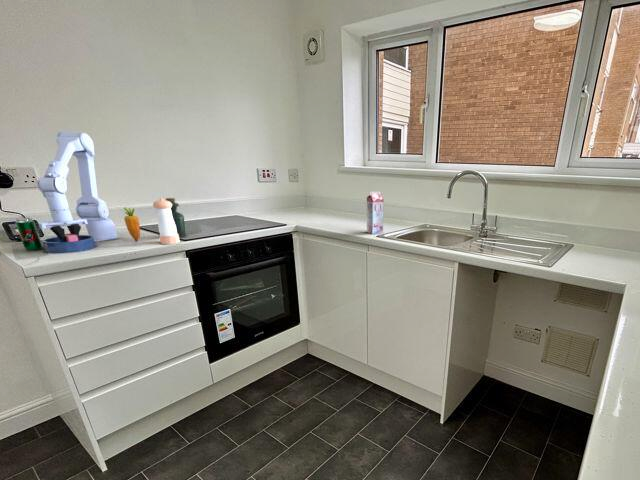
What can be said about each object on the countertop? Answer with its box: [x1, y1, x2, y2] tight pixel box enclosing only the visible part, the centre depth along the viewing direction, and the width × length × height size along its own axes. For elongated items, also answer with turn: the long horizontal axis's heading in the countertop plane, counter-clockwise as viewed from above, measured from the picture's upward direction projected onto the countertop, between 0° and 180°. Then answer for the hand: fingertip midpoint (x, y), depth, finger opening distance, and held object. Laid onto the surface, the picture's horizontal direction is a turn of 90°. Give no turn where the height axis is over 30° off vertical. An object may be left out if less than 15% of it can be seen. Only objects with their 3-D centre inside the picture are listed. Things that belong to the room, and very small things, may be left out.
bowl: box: [41, 234, 97, 254], centre depth 141 cm, size 15×15×4 cm
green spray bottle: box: [165, 197, 187, 239], centre depth 166 cm, size 8×8×18 cm
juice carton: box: [366, 191, 384, 235], centre depth 193 cm, size 7×7×22 cm
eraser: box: [65, 233, 79, 242], centre depth 141 cm, size 3×6×5 cm, turn 66°
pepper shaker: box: [152, 197, 181, 245], centre depth 154 cm, size 7×7×19 cm
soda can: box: [15, 217, 44, 252], centre depth 136 cm, size 5×5×12 cm
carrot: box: [123, 206, 141, 242], centre depth 155 cm, size 5×5×15 cm
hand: (70, 244), depth 141 cm, fingers closed on eraser, 3 cm apart
